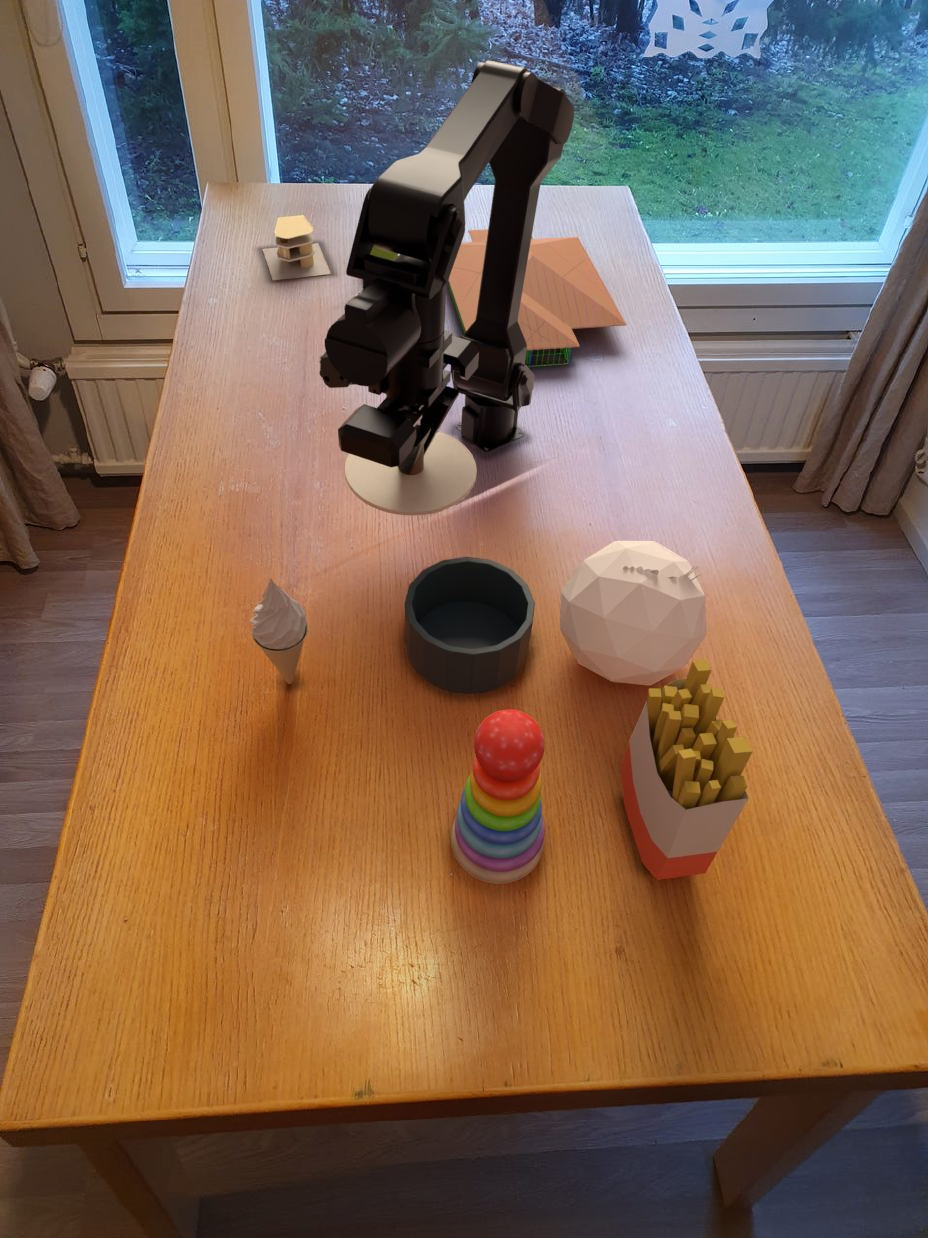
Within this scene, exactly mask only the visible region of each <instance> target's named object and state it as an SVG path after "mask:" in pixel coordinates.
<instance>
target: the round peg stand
mask: <svg viewBox="0 0 928 1238" xmlns="http://www.w3.org/2000/svg"><path fill="white" fill-rule="evenodd" d="M476 463H477V462H476V459H475V458H474V456H473V454H472V453H471V451H470V450H469V449H468V448H467V446H466V445H465V444H463V443H462V442H461V441H460V440H458V439H457V438H455V437H453V436H451V435H450V434H447V433H445V432H442V431H439V430H438V431H437V433H436V435H435V437H434V439H433V440H432V442H431V444H430V446H429V448H428V450H427V451H426V453H425V455H424V446H423V448H422V450H421V452H420V455H419V457H418V459H417V461H416V463H415V466H414V468H413V470H412V472H411V473H410V474H409V475H408V474H405V473H402V472H400V470H399V468H398V466H396V467H388V466H385V465H382V464H379V463H376V462H373V461H370V460H367V459H364V458H361V457H358V456H355V455H352V454H349V453H348V455H347V456H346V459H345V462H344V468H343V469H344V478H345V481H346V485H347V486H348V488H349V489H350V491H351V492H352V493H353V495H354V496H356V497H357V498H358V499H359V500H360V501H361V502H363V503H364V504H365V505H367V506H370V507H371V508H374V509H376V510H378V511H381V512H384V513H388V514H393V515H399V516H425V515H431V514H435V513H439V512H443V511H445V510H448V509H450V508H451V507H453V506H456V505H457V504H459V503H460V502H462V501H463V500H464V499H465V498H466V497H468V495H470V493H471V491H472V490H473V488H474V486H475V483H476V481H477V473H478V470H477V464H476Z"/></svg>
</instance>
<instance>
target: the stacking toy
mask: <svg viewBox="0 0 928 1238" xmlns="http://www.w3.org/2000/svg"><path fill="white" fill-rule="evenodd" d="M545 744H546V742H545V737H544V733H543V731H542V729H541V727H540V726H539V724H538V722H537V721H536V720H535V719H534V718H533V717H532V716H530V715H529V714H527V713H525V712H524V711H521V710H517V709H513V708H511V709H508V708H507V709H501V710H496V711H494V712H493V713H491V714H489V715H488V716H486V717H485V718H484V719H483V720H482V722H480V724H479V725H478V727H477V729H476V731H475V735H474V738H473V750H474V757H473V761H472V769H471V771H470V774H469V776H468V777H467V780H466V781H465V784H464V788H463V790H462V793H461V797H460V800H459V802H458V806H457V812H456V816H455V818H454V820H453V821H452V824H451V828H450V835H449V837H450V838H449V841H450V847H451V850H452V851H451V852H452V853H453V856H454V858H455V860H456V861H457V864H458V865H459V866H460V867H461V868H462V869H463V870H464V871H465V872H466V873H467V874H468V875H470V876H471V877H473V878H475V879H476V880H479V881H480V882H483V883H488V884H495V885H504V884H511V883H514V882H517V881H519V880H521V879H524V878H525V877H526V876H528V875H529V874H530V873H531V872H532V871H533V870H534V869H535V868H536V867H537V865H538V864H539V862H540V860H541V858H542V855H543V853H544V850H545V836H546V824H545V820H544V816H543V804H542V803H543V802H542V788H543V782H542V775H541V766H540V764H541V761H542V760H543V757H544V754H545V746H546V745H545Z"/></svg>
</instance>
